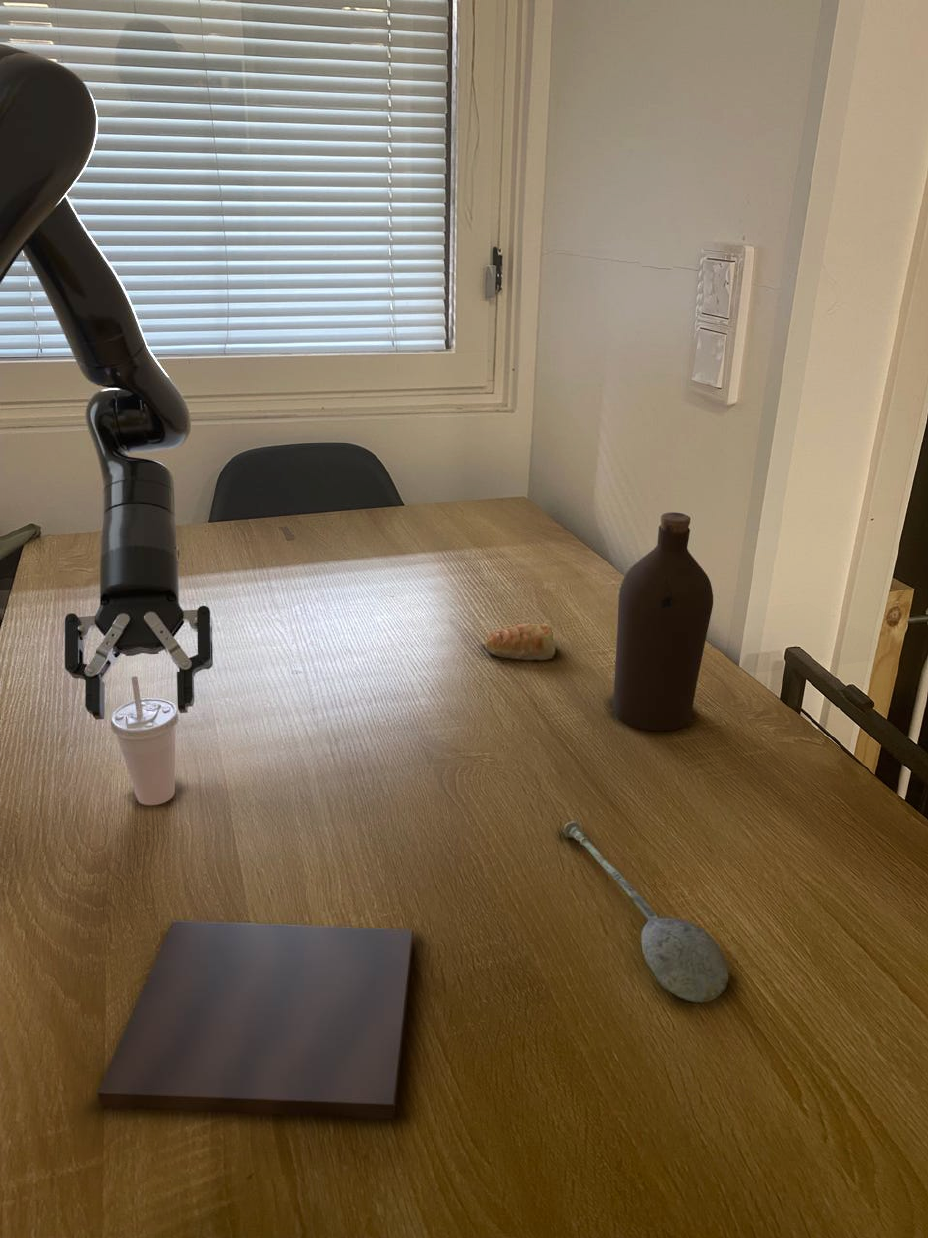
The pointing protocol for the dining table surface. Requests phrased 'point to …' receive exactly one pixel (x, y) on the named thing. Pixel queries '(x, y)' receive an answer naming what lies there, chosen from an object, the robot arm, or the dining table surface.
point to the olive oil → (661, 632)
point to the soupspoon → (671, 943)
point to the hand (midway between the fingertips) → (141, 714)
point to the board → (267, 1022)
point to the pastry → (523, 642)
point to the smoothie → (148, 745)
